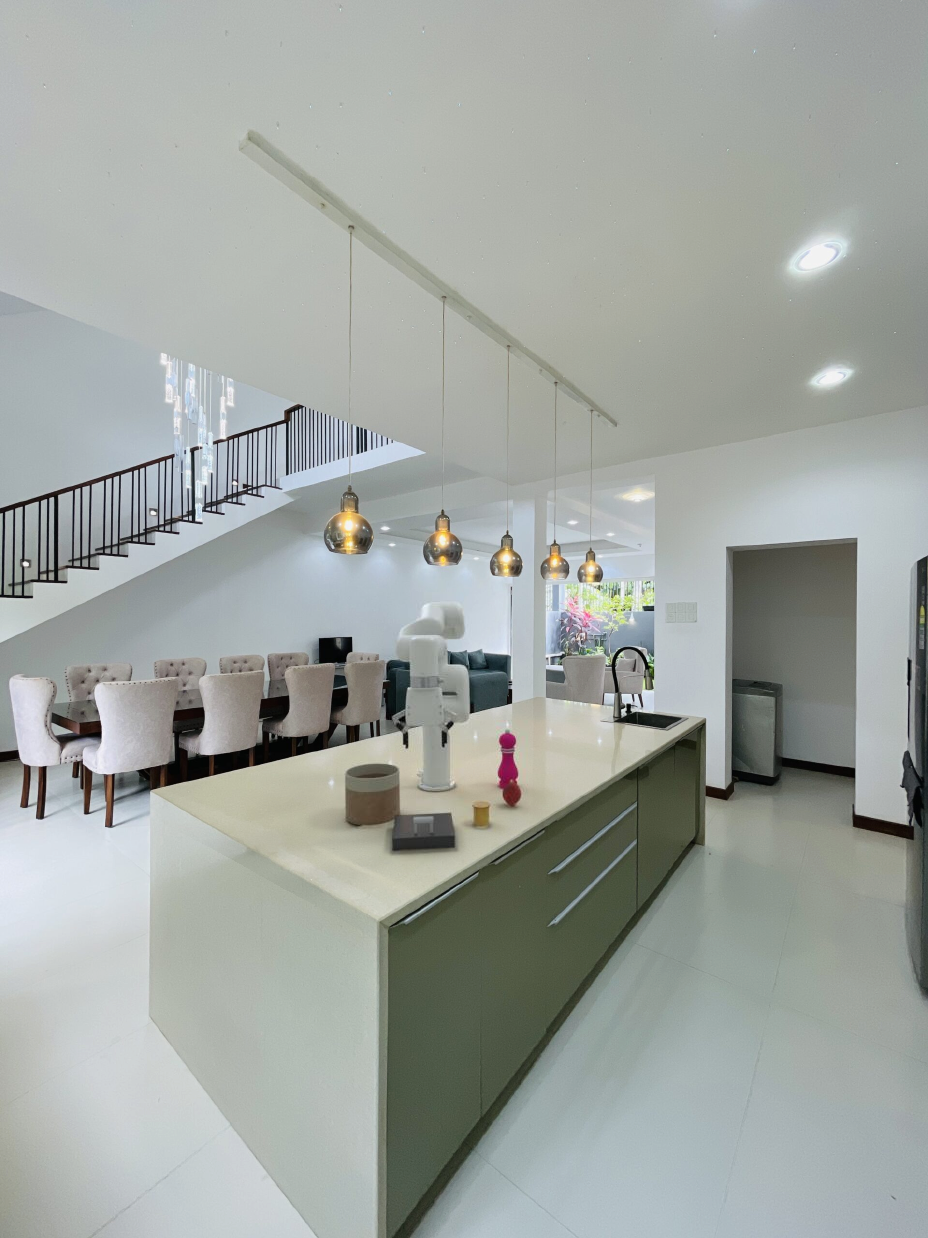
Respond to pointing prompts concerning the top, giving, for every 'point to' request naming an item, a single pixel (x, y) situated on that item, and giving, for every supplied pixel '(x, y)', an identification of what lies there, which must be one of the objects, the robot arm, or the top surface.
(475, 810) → the coffee pod
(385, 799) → the planter
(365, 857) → the top surface
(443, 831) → the lid
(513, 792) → the onion
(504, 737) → the pepper mill
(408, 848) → the dark grey lidded tray
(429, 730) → the robot arm
